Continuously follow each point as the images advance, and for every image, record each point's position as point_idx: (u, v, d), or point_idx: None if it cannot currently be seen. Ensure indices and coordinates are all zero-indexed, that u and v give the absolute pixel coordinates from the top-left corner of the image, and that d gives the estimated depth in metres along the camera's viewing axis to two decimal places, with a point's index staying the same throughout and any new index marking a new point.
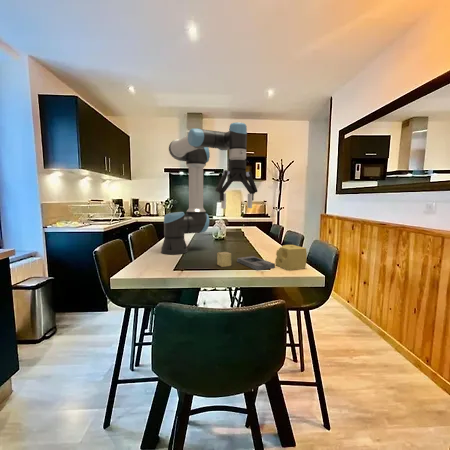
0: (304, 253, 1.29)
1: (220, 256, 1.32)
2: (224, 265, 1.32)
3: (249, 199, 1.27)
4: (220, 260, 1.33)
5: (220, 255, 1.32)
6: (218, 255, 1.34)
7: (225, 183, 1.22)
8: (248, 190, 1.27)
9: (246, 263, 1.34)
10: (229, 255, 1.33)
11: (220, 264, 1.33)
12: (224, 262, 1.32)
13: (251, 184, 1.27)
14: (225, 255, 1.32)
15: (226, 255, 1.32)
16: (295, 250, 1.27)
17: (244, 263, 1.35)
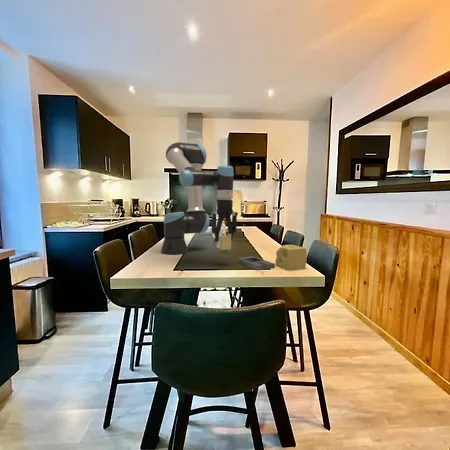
0: (304, 253, 1.29)
1: None
2: (224, 248, 1.31)
3: None
4: None
5: None
6: None
7: (217, 223, 1.32)
8: (228, 229, 1.35)
9: (246, 263, 1.34)
10: (229, 238, 1.32)
11: None
12: (224, 245, 1.31)
13: (233, 223, 1.35)
14: (225, 238, 1.31)
15: (226, 238, 1.31)
16: (295, 250, 1.27)
17: (244, 263, 1.35)
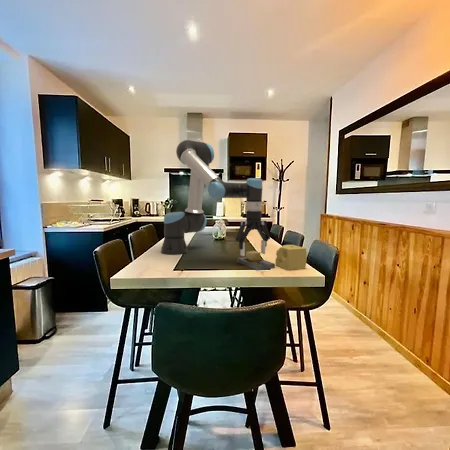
0: (304, 253, 1.29)
1: (250, 255, 1.35)
2: None
3: (262, 245, 1.40)
4: (249, 259, 1.35)
5: (249, 254, 1.35)
6: (247, 254, 1.37)
7: None
8: (262, 237, 1.40)
9: (246, 263, 1.34)
10: (258, 254, 1.36)
11: None
12: (254, 261, 1.35)
13: (265, 231, 1.39)
14: (254, 254, 1.35)
15: (255, 254, 1.35)
16: (295, 250, 1.27)
17: (244, 263, 1.35)
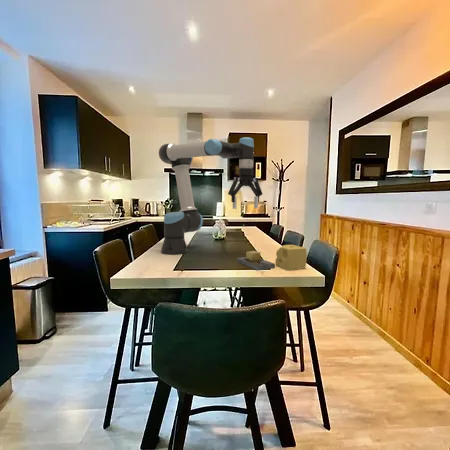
0: (304, 253, 1.29)
1: (250, 255, 1.35)
2: None
3: (255, 201, 1.52)
4: (249, 259, 1.35)
5: (249, 254, 1.35)
6: (247, 254, 1.37)
7: (236, 187, 1.46)
8: (254, 193, 1.52)
9: (246, 263, 1.34)
10: (258, 254, 1.36)
11: None
12: (254, 261, 1.35)
13: (257, 188, 1.51)
14: (254, 254, 1.35)
15: (255, 254, 1.35)
16: (295, 250, 1.27)
17: (244, 263, 1.35)
